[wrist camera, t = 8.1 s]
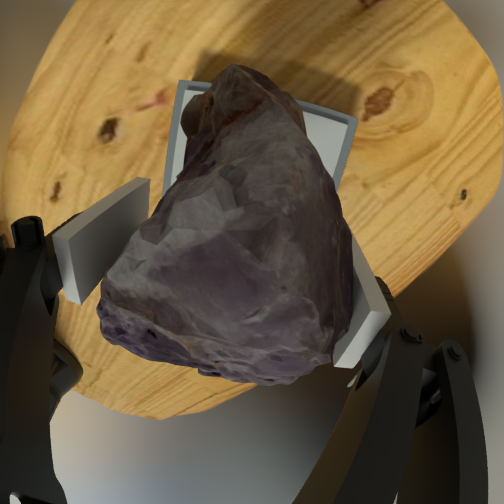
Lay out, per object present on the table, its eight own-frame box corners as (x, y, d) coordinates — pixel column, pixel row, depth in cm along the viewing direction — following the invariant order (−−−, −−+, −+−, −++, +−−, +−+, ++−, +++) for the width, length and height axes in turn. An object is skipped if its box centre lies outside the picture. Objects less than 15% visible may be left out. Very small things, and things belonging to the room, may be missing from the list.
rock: (132, 226, 16) (261, 312, 18) (46, 327, 9) (230, 433, 11) (229, 50, 9) (403, 189, 11) (81, 23, 2) (481, 337, 4)
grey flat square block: (170, 223, 27) (158, 238, 24) (190, 82, 20) (177, 79, 17) (305, 254, 27) (308, 273, 24) (348, 117, 20) (360, 119, 17)
